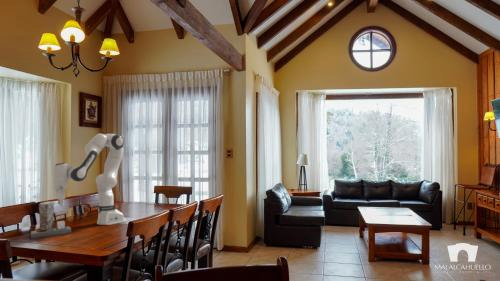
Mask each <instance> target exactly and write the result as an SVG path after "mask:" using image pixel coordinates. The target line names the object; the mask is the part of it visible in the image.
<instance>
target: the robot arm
mask: <svg viewBox="0 0 500 281" xmlns="http://www.w3.org/2000/svg"><path fill="white" fill-rule="evenodd" d="M124 144H125V139H124V137H123V136H122V135H121V134H116V133H96V134H95V135H94V136H93V137H92V138H91V139H90V140H89V142H88V143H86V145H85V147H84V153H85V154H86V157H85V158H84V159H83V161H82V162H81V163H80V165H79V166H77V167H76V166H72V165H71V164H68V163H67V162H59V163H55V165H54V166H53V189H55V190H54V191H55V197H56V198H57V204H58V205H59V206H60V207H62V206H64V205H63V204H64V200H66V189H67V188H68V182H69V181H68V180H70V181H75V182H82V181H84V180H85V179H86V177H87V175H88V172H89V170H90V168H91V167H92V165H93V163H94V162H95V160H96V159H97V157H98V156H99V154H100V153H101V152H102V150H103V149H104V148H109V152H108V154H107V157H106V160H105V162H104V169H103V173H101V174H98V175H97V176H96V177H95V183H96V188H97V194H98V206H97V212H98V217H97V222H96V224H97V225H104V226H105V225H106V226H107V225H108V226H111V225H115V224H116V225H117V224H121V223H126V222H127V221H128V220H127V218H125V216H124V214H123V212H121V211H120V210H119V209H118V208H119V205H117V204H114V202H115V201H114V198H115V197H114V196H115V195H114V193H113V189H112V188H114V187H116V186H117V184H118V180H117V178H118V172H119V168H120V166H121V165H120V164H121V162H122V160H123V156H124V153H125V151H124V150H125V149H124Z"/></svg>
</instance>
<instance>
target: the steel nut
mask: <svg viewBox="0 0 500 281" xmlns="http://www.w3.org/2000/svg"><path fill="white" fill-rule="evenodd" d="M65 227H66V222H65V220H59V221H56V228H57V230H61V229H65Z"/></svg>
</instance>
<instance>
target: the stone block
mask: <svg viewBox="0 0 500 281" xmlns="http://www.w3.org/2000/svg"><path fill="white" fill-rule="evenodd" d="M54 210H55V201H45V202H41V203H39V204H38V214H39V230H44V229H51V228H54V218H55V217H54V215H55V214H54V213H55V211H54Z"/></svg>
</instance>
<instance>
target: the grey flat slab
mask: <svg viewBox="0 0 500 281" xmlns="http://www.w3.org/2000/svg"><path fill="white" fill-rule="evenodd" d="M71 233H72V228H71V227H70V226H69V225H68V226H65V229H61V230H57V227H52V228H51V229H44V230H40V229H38V230H37V229H36V230H31V231H30V238H31V239H38V238H46V237H52V236H59V235H60V236H61V235H67V234H71Z"/></svg>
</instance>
